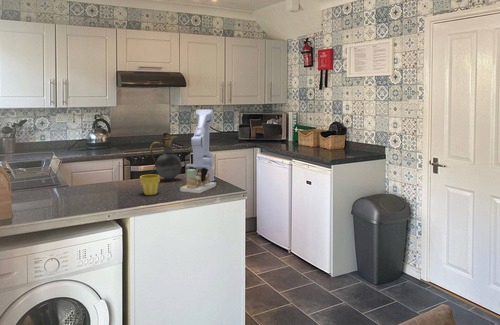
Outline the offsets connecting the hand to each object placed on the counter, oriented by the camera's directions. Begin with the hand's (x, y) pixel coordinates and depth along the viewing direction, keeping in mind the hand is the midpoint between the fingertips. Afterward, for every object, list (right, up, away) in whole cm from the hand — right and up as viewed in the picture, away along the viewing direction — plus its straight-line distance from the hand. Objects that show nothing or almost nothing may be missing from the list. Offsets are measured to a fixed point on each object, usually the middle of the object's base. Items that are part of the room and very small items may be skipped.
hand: (198, 181), depth 242 cm
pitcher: (-23, -1, +22) cm, 32 cm away
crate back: (+3, +5, +6) cm, 8 cm away
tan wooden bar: (0, -2, 0) cm, 2 cm away
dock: (0, -4, +1) cm, 4 cm away
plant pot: (-25, -7, -11) cm, 28 cm away
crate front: (-3, +3, -7) cm, 8 cm away
